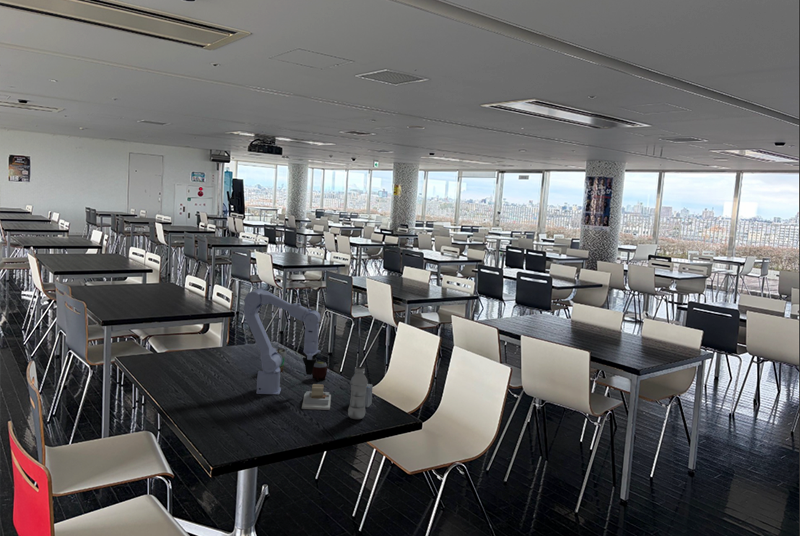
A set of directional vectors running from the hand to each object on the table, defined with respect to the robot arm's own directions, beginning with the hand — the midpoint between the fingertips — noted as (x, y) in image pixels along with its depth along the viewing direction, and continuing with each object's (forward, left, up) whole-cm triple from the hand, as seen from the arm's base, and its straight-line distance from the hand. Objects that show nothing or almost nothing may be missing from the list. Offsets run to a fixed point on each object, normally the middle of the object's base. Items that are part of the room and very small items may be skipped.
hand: (309, 371), depth 249 cm
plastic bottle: (+20, -23, -11) cm, 32 cm away
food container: (-16, +31, -11) cm, 36 cm away
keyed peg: (+4, -8, -9) cm, 13 cm away
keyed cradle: (+4, -8, -10) cm, 14 cm away
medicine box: (+22, -8, -11) cm, 26 cm away
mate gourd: (+3, +22, -11) cm, 25 cm away
